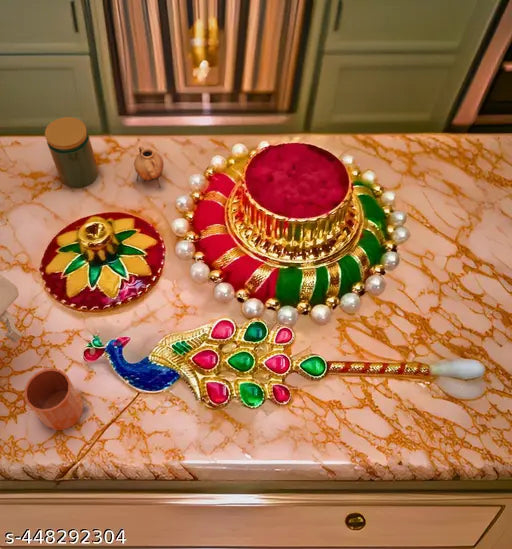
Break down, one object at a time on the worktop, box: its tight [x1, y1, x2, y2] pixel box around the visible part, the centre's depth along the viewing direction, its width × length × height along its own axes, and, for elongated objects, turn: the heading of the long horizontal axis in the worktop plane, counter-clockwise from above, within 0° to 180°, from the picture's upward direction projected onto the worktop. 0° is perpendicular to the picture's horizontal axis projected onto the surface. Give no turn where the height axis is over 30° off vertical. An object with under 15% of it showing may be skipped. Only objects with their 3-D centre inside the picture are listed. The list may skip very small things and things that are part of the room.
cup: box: [23, 368, 84, 431], centre depth 90 cm, size 7×7×9 cm
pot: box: [133, 146, 165, 188], centre depth 118 cm, size 6×8×6 cm
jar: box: [44, 116, 100, 189], centre depth 116 cm, size 8×8×12 cm
